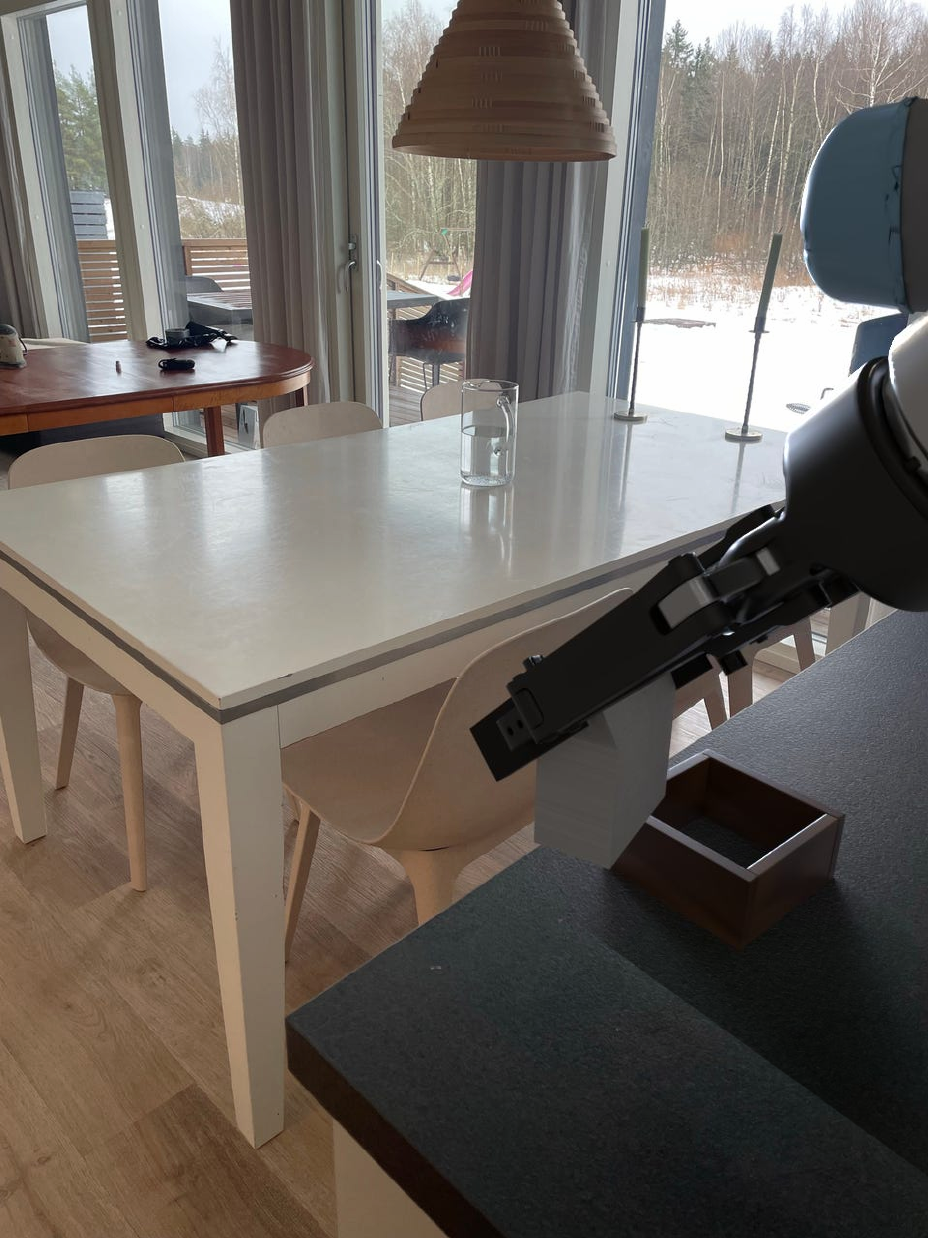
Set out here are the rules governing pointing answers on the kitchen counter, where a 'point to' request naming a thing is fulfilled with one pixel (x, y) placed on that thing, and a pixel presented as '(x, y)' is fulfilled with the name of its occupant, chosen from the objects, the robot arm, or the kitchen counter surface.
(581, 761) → the white faceted block
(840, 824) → the holder
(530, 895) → the kitchen counter surface
